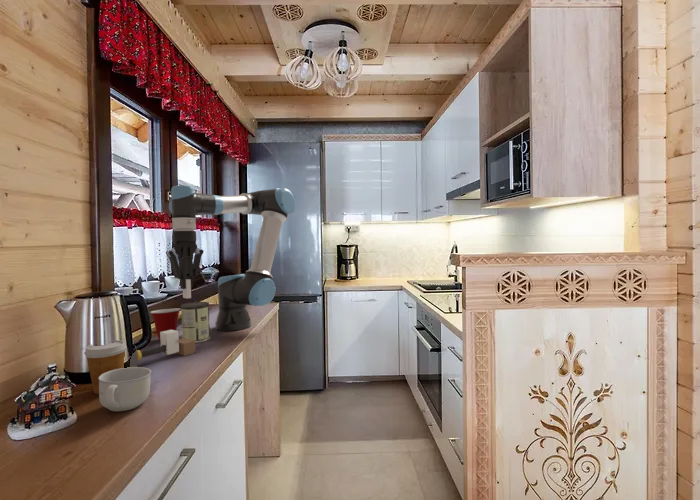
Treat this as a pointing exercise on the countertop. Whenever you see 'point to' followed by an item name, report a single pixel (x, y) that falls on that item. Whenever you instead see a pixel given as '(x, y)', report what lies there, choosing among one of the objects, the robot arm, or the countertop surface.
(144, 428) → the countertop surface
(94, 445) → the countertop surface
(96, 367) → the disposable coffee cup
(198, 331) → the coffee can
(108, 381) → the teacup
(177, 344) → the white upright block
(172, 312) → the plastic cup
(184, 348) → the cord rail
